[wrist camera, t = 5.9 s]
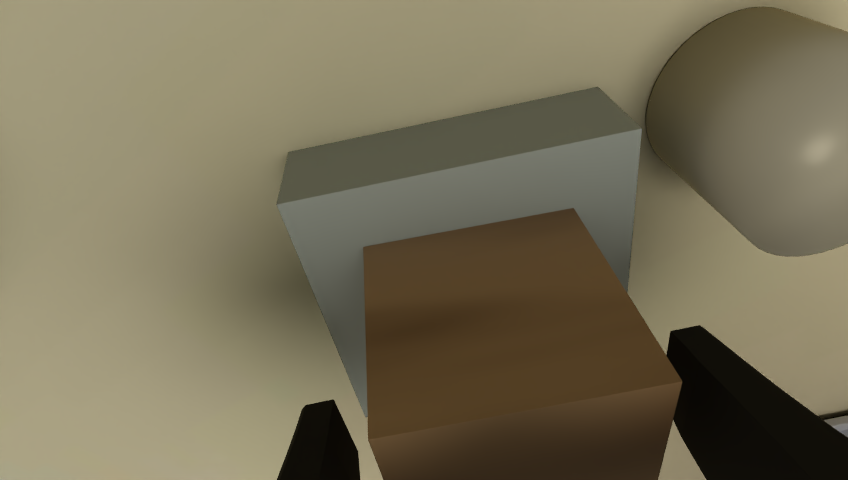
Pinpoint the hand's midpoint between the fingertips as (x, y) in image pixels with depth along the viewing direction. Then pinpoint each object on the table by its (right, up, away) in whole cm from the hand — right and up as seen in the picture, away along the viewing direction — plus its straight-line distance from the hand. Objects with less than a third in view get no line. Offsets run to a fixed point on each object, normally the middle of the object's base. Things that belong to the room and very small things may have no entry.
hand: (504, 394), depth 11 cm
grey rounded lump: (+6, +7, +2) cm, 10 cm away
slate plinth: (-1, +4, +5) cm, 6 cm away
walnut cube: (0, +2, +2) cm, 3 cm away
